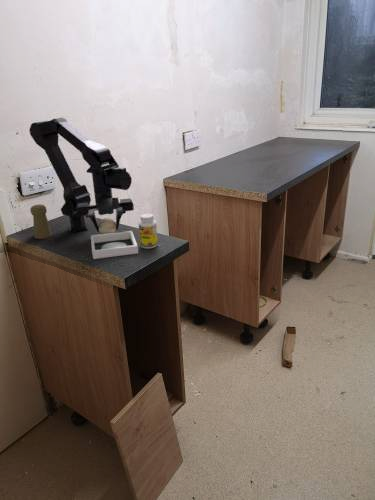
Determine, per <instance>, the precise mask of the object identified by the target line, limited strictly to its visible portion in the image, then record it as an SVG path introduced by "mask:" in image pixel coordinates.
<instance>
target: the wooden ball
mask: <svg viewBox="0 0 375 500" xmlns="http://www.w3.org/2000/svg"><path fill="white" fill-rule="evenodd" d="M98 228H99V233H100V234H108V233H116V232H115V231H117V230H116V221H114V220H113V219H112V218H110V217H106V218H102V219H101V220H100V221H99V222H98Z"/></svg>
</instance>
